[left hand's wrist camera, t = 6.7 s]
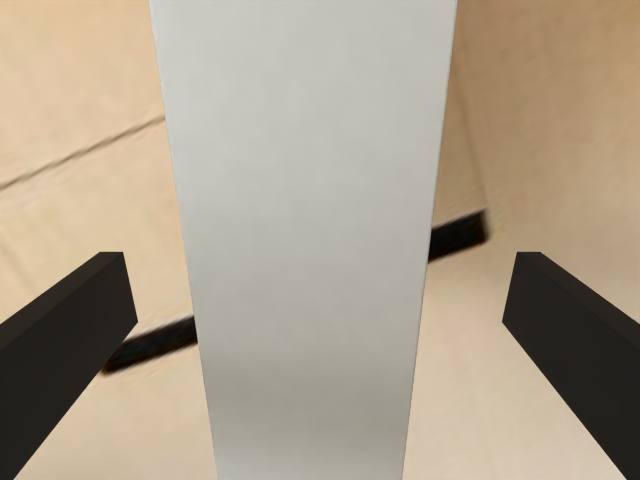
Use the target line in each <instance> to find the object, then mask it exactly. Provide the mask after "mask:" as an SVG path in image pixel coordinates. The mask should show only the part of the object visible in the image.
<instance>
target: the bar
mask: <svg viewBox="0 0 640 480" xmlns="http://www.w3.org/2000/svg"><path fill="white" fill-rule="evenodd" d="M148 3H149V10H150V16H151V23H152V30H153V37H154V44H155V50H156V57H157V64H158V71H159V78H160V85H161V91H162V98H163V105H164V112H165V119H166V126H167V132H168V139H169V146H170V153H171V160H172V167H173V173H174V180H175V187H176V194H177V201H178V207H179V214H180V221H181V228H182V235H183V242H184V248H185V255H186V262H187V269H188V276H189V283H190V289H191V296H192V303H193V310H194V317H195V324H196V330H197V337H198V344H199V351H200V358H201V364H202V371H203V378H204V385H205V392H206V399H207V405H208V412H209V419H210V426H211V433H212V440H213V446H214V453H215V460H216V467H217V474H218V480H402V475H403V466H404V458H405V449H406V441H407V432H408V424H409V415H410V407H411V398H412V390H413V381H414V372H415V364H416V355H417V347H418V338H419V330H420V321H421V313H422V304H423V295H424V287H425V278H426V270H427V261H428V253H429V244H430V236H431V227H432V218H433V210H434V201H435V193H436V184H437V176H438V167H439V159H440V150H441V141H442V133H443V124H444V116H445V107H446V99H447V90H448V82H449V73H450V65H451V56H452V47H453V39H454V30H455V22H456V13H457V5H458V0H148Z"/></svg>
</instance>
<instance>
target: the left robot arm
mask: <svg viewBox="0 0 640 480" xmlns="http://www.w3.org/2000/svg"><path fill="white" fill-rule="evenodd" d="M137 323H138V319H137V315H136V310H135V305H134V301H133V296H132V291H131V287H130V282H129V278H128V273H127V268H126V264H125V259H124V254H123V252H99V253H98V254H96V255H95V256H94V257H92V258H91V259H89V260H88V261H87V262H85V263H84V264H83V265H81V266H80V267H78V268H77V269H76V270H74V271H73V272H72V273H70V274H69V275H67V276H66V277H65V278H63V279H62V280H61V281H59V282H58V283H56V284H55V285H54V286H52V287H51V288H50V289H48V290H47V291H45V292H44V293H43V294H41V295H40V296H39V297H37V298H36V299H34V300H33V301H32V302H30V303H29V304H28V305H26V306H25V307H23V308H22V309H21V310H19V311H18V312H16V313H15V314H14V315H12V316H11V317H10V318H8V319H7V320H5V321H4V322H3V323H1V324H0V480H13V479H14V478H15V477H16V476H17V474H18V473H19V472H20V471H21V469H22V468H23V467H24V465H25V464H26V463H27V462H28V460H29V459H30V458H31V457H32V455H33V454H34V453H35V452H36V450H37V449H38V448H39V447H40V445H41V444H42V443H43V441H44V440H45V439H46V438H47V436H48V435H49V434H50V433H51V431H52V430H53V429H54V428H55V426H56V425H57V424H58V423H59V421H60V420H61V419H62V417H63V416H64V415H65V414H66V412H67V411H68V410H69V409H70V407H71V406H72V405H73V404H74V402H75V401H76V400H77V398H78V397H79V396H80V395H81V393H82V392H83V391H84V390H85V388H86V387H87V386H88V385H89V383H90V382H91V381H92V380H93V378H94V377H95V376H96V374H97V373H98V372H99V371H100V369H101V368H102V367H103V366H104V364H105V363H106V362H107V361H108V359H109V358H110V357H111V356H112V354H113V353H114V352H115V350H116V349H117V348H118V347H119V345H120V344H121V343H122V342H123V340H124V339H125V338H126V337H127V335H128V334H129V333H130V332H131V330H132V329H133V328H134V326H135V325H136V324H137ZM502 323H503V324H504V325H505V326H506V328H507V329H508V330H509V332H510V333H511V334H512V335H513V337H514V338H515V339H516V340H517V342H518V343H519V344H520V345H521V347H522V348H523V349H524V350H525V352H526V353H527V354H528V356H529V357H530V358H531V359H532V361H533V362H534V363H535V364H536V366H537V367H538V368H539V369H540V371H541V372H542V373H543V374H544V376H545V377H546V378H547V380H548V381H549V382H550V383H551V385H552V386H553V387H554V388H555V390H556V391H557V392H558V393H559V395H560V396H561V397H562V398H563V400H564V401H565V402H566V404H567V405H568V406H569V407H570V409H571V410H572V411H573V412H574V414H575V415H576V416H577V417H578V419H579V420H580V421H581V423H582V424H583V425H584V426H585V428H586V429H587V430H588V431H589V433H590V434H591V435H592V436H593V438H594V439H595V440H596V441H597V443H598V444H599V445H600V447H601V448H602V449H603V450H604V452H605V453H606V454H607V455H608V457H609V458H610V459H611V460H612V462H613V463H614V464H615V465H616V467H617V468H618V469H619V471H620V472H621V473H622V474H623V476H624V477H625V478H626V479H627V480H640V324H639V323H637V322H636V321H635V320H633V319H632V318H630V317H629V316H628V315H626V314H625V313H624V312H622V311H621V310H619V309H618V308H617V307H615V306H614V305H612V304H611V303H610V302H608V301H607V300H606V299H604V298H603V297H601V296H600V295H599V294H597V293H596V292H595V291H593V290H592V289H590V288H589V287H588V286H586V285H585V284H584V283H582V282H581V281H579V280H578V279H577V278H575V277H574V276H573V275H571V274H570V273H568V272H567V271H566V270H564V269H563V268H562V267H560V266H559V265H557V264H556V263H555V262H553V261H552V260H551V259H549V258H548V257H546V256H545V255H544V254H542V253H541V252H517V254H516V259H515V264H514V268H513V273H512V278H511V282H510V287H509V291H508V296H507V301H506V305H505V310H504V315H503V319H502Z"/></svg>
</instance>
